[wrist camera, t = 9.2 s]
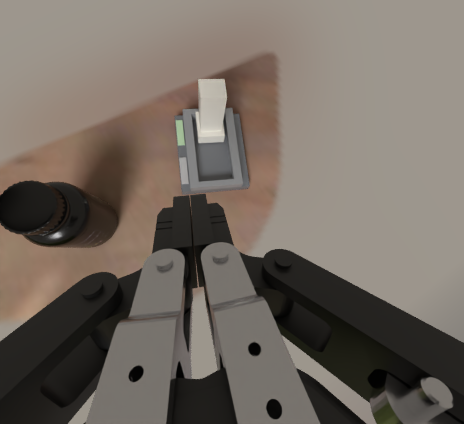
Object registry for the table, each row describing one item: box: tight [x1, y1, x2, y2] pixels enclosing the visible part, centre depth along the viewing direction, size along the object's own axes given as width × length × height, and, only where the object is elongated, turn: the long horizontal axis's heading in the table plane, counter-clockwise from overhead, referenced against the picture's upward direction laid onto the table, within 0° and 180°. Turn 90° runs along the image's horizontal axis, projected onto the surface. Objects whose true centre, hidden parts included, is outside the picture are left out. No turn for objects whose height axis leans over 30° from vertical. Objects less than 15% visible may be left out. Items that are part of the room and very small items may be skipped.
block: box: [195, 79, 227, 143], centre depth 29 cm, size 4×4×9 cm
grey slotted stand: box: [175, 108, 250, 194], centre depth 33 cm, size 10×12×3 cm
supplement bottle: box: [0, 181, 117, 248], centre depth 25 cm, size 7×7×12 cm
